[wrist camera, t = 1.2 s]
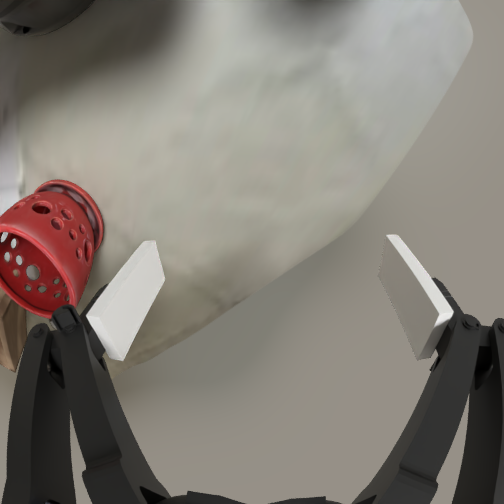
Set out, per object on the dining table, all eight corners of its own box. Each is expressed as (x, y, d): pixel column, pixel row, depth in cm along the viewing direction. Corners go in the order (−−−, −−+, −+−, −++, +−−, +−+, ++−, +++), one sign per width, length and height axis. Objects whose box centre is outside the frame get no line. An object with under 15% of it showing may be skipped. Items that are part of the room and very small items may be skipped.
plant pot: (51, 149, 23) (-11, 199, 14) (128, 213, 30) (97, 284, 21) (20, 219, 28) (-23, 276, 18) (84, 270, 34) (58, 336, 25)
